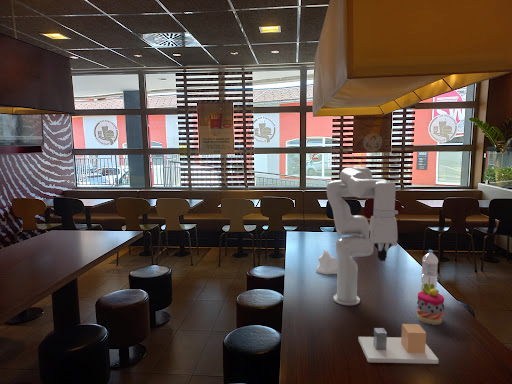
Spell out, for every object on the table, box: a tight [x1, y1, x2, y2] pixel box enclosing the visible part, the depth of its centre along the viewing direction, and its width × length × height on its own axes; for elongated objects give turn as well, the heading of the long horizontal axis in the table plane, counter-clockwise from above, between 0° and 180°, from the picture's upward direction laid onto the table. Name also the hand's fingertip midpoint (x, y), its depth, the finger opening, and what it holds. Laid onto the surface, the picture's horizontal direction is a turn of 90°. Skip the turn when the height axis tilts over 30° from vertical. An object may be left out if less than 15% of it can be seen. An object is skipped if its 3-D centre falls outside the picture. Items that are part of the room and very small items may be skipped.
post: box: [373, 327, 388, 350], centre depth 129 cm, size 4×4×8 cm
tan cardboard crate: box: [400, 323, 427, 353], centre depth 128 cm, size 6×6×8 cm
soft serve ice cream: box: [315, 249, 337, 275], centre depth 210 cm, size 12×15×14 cm
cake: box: [416, 283, 445, 326], centre depth 152 cm, size 10×11×15 cm
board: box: [358, 336, 440, 365], centre depth 129 cm, size 14×24×2 cm, turn 87°
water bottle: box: [420, 249, 439, 292], centre depth 170 cm, size 7×7×25 cm
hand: (381, 260), depth 136 cm, fingers closed
